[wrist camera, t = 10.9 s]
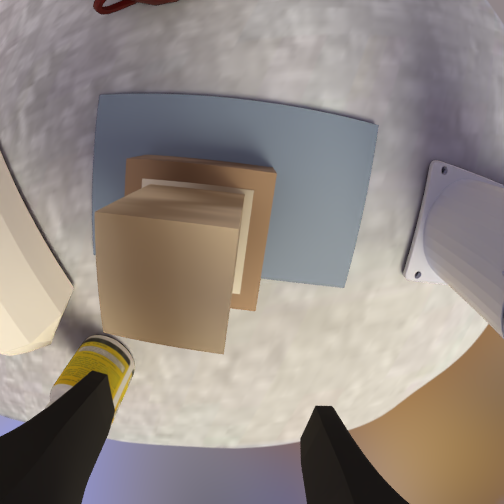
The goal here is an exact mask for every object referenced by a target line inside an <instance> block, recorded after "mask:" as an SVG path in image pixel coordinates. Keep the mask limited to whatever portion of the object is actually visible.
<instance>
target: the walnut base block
mask: <svg viewBox="0 0 504 504" xmlns="http://www.w3.org/2000/svg"><path fill="white" fill-rule="evenodd" d="M276 177H277V173H276V171H275V170H274V168H273V167H266V166H258V165H251V164H243V163H235V162H227V161H218V160H208V159H198V158H187V157H175V156H162V155H142V156H137V157H131V158H126V174H125V195H124V197H125V196H127V195H129V194H131V193H133V192H135V191H137V190H139V189H141V188H143V187H145V186H147V185H149V184H155V185H166V186H176V187H186V188H195V189H204V190H213V191H221V192H229V193H237V194H245V198H244V205H243V213H242V221H241V228H240V236H239V244H238V252H237V259H236V267H235V275H234V283H233V290H232V297H231V304H230V308H233V309H241V310H250V311H255V310H256V304H257V298H258V292H259V286H260V280H261V273H262V267H263V261H264V254H265V248H266V242H267V235H268V229H269V223H270V216H271V210H272V203H273V197H274V190H275V183H276Z"/></svg>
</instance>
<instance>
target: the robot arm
mask: <svg viewBox="0 0 504 504" xmlns="http://www.w3.org/2000/svg"><path fill="white" fill-rule="evenodd" d="M442 167H444V173H443V174H442V172H441V169H442ZM418 271H419V273H418V275H416V276H415V273H416V272H418ZM403 275H404V277H405V278H406V279H407V280H408V281H415V282H424V283H433V284H442V285H449V286H450V287H451V288H452V289H453V290H454V291H455V292H456V293H457V294H459V295H460V296H461V297H462V298H463V299H464V300H465V301H466V302H467V303H468V304H469V305H470V306H471V307H472V308H473V309H474V310H475V311H476V312H477V313H478V314H479V315H481V316H482V317H483V318H484V319H485V320H486V321H487V322H488V323H489V324H490V325H491V326H492V327H493V328H494V329H495V331H496V332H497V333H498V334H499V335H500V336H501V337H502V338H503V339H504V185H502V184H500V183H497V182H495V181H493V180H490V179H488V178H485V177H483V176H480V175H478V174H475V173H473V172H470V171H467V170H465V169H462V168H459V167H456V166H453V165H451V164H448V163H445V162H442V161H439V160H434V161H432V162H431V163H430V166H429V172H428V177H427V182H426V187H425V192H424V196H423V201H422V205H421V210H420V214H419V218H418V222H417V226H416V230H415V234H414V237H413V241H412V245H411V248H410V252H409V255H408V259H407V262H406V265H405V269H404V272H403ZM114 413H115V408H114V403H113V399H112V394H111V389H110V384H109V379H108V375H107V374H104V373H100V372H97V371H93V370H92V371H91V372H89V373H88V374H87V375H86V376H85V377H84V378H82V379H81V380H80V381H79V382H78V383H76V384H75V385H74V386H73V387H72V388H71V389H69V390H68V391H67V392H66V393H65V394H63V395H62V396H61V397H60V398H58V399H57V400H56V401H55V402H53V403H52V404H51V405H50V406H48V407H47V408H46V409H44V410H43V411H41V412H40V413H39V414H37V415H36V416H34V417H33V418H32V419H30V420H29V421H27V422H26V423H24V424H22V425H21V426H19V427H17V428H16V429H14V430H12V431H10V432H9V433H6V434H4V435H3V436H1V437H0V504H81V503H82V498H83V495H84V491H85V488H86V485H87V482H88V479H89V477H90V475H91V472H92V470H93V468H94V465H95V463H96V461H97V458H98V456H99V454H100V452H101V450H102V447H103V445H104V443H105V440H106V438H107V436H108V433H109V430H110V427H111V424H112V420H113V417H114ZM300 440H301V466H302V473H303V480H304V486H305V493H306V499H307V504H409V503H408V502H407V501H406V500H404V499H403V498H402V497H401V496H400V495H399V494H398V493H397V492H396V491H395V490H394V489H393V488H392V487H391V486H390V485H389V484H388V483H387V482H386V481H385V480H384V479H383V477H382V476H381V475H380V474H379V473H378V472H377V470H376V469H375V468H374V467H373V465H372V464H371V463H370V462H369V460H368V459H367V458H366V457H365V455H364V454H363V452H362V451H361V449H360V448H359V447H358V445H357V444H356V442H355V441H354V439H353V438H352V437H351V435H350V433H349V432H348V430H347V429H346V427H345V425H344V424H343V422H342V421H341V419H340V417H339V416H338V414H337V413H336V411H335V409H334V408H333V407H332V406H315V408H314V410H313V413H312V415H311V417H310V419H309V421H308V424H307V426H306V428H305V430H304V432H303V434H302V436H301V439H300Z"/></svg>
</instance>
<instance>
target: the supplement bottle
mask: <svg viewBox="0 0 504 504" xmlns="http://www.w3.org/2000/svg"><path fill="white" fill-rule="evenodd" d="M92 370H93V371H97V372H100V373H104V374H107V375H108V379H109V384H110V389H111V394H112V399H113V403H114V408H115V413H114V417H113V420H114V418H115V416H116V413H117V411H118V409H119V406H120V404H121V402H122V399H123V397H124V395H125V393H126V390H127V388H128V386H129V384H130V381H131V379H132V377H133V374H134V371H135V364H134V361H133V358H132V356H131V355H130V353H129V352H128V350H127V349H126V348H125V347H124V346H123V345H122V344H121V343H119V342H118V341H116V340H114V339H112V338H110V337H107V336H103V335H94V336H91V337H88V338H87V339H86V340H85V341H84V342H83V343H82V345H81V346H80V348H79V349H78V350H77V352H76V353H75V355H74V356H73V357H72V359H71V360H70V362H69V363H68V365H67V366H66V367H65V369H64V371H63V372H62V374H61V375H60V377H59V378H58V380H57V381H56V382H55V384H54V386H53V387H52V389H51V392H50V402H49V404H47V406H46V408H47V407H48V406H50V405H51V404H52V403H53V402H55V401H56V400H57V399H58V398H60V397H61V396H62V395H63V394H65V393H66V392H67V391H68V390H69V389H71V388H72V387H73V386H74V385H75V384H76V383H78V382H79V381H80V380H81V379H82V378H84V377H85V376H86V375H87V374H88V373H89V372H91V371H92ZM46 408H45V409H46ZM113 420H112V423H113ZM111 425H112V424H111Z"/></svg>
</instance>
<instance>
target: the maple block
mask: <svg viewBox="0 0 504 504" xmlns="http://www.w3.org/2000/svg"><path fill="white" fill-rule="evenodd" d="M244 198H245V194H237V193H229V192H221V191H213V190H204V189H195V188H186V187H176V186H166V185H155V184H149V185H147V186H145V187H143V188H141V189H139V190H137V191H135V192H133V193H131V194H129V195H127V196H125V197H123V198H121V199H119V200H117V201H115V202H113V203H111V204H109V205H107V206H105V207H103V208H101V209H99V210H97V211H96V212H95V250H96V267H97V280H98V292H99V301H100V310H101V318H102V326H103V333H108V334H112V335H116V336H121V337H126V338H130V339H135V340H140V341H145V342H150V343H156V344H161V345H167V346H173V347H178V348H185V349H191V350H197V351H204V352H211V353H218V354H224V348H225V340H226V333H227V326H228V319H229V311H230V304H231V297H232V290H233V283H234V275H235V267H236V259H237V252H238V244H239V236H240V228H241V221H242V213H243V205H244Z"/></svg>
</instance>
